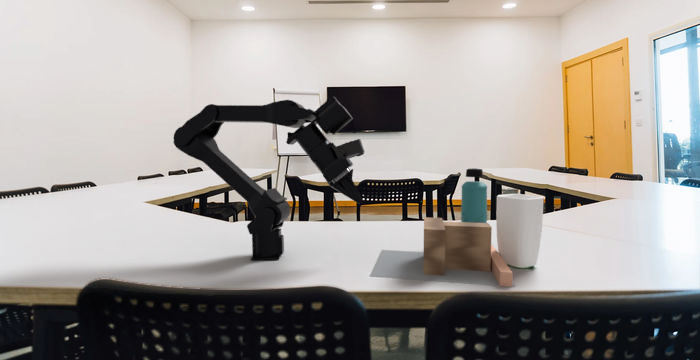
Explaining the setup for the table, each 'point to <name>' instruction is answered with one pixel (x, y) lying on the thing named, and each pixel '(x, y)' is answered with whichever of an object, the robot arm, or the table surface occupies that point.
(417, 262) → the runner mat
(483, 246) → the t block
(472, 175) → the teal bottle
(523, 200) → the cup
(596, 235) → the table surface
